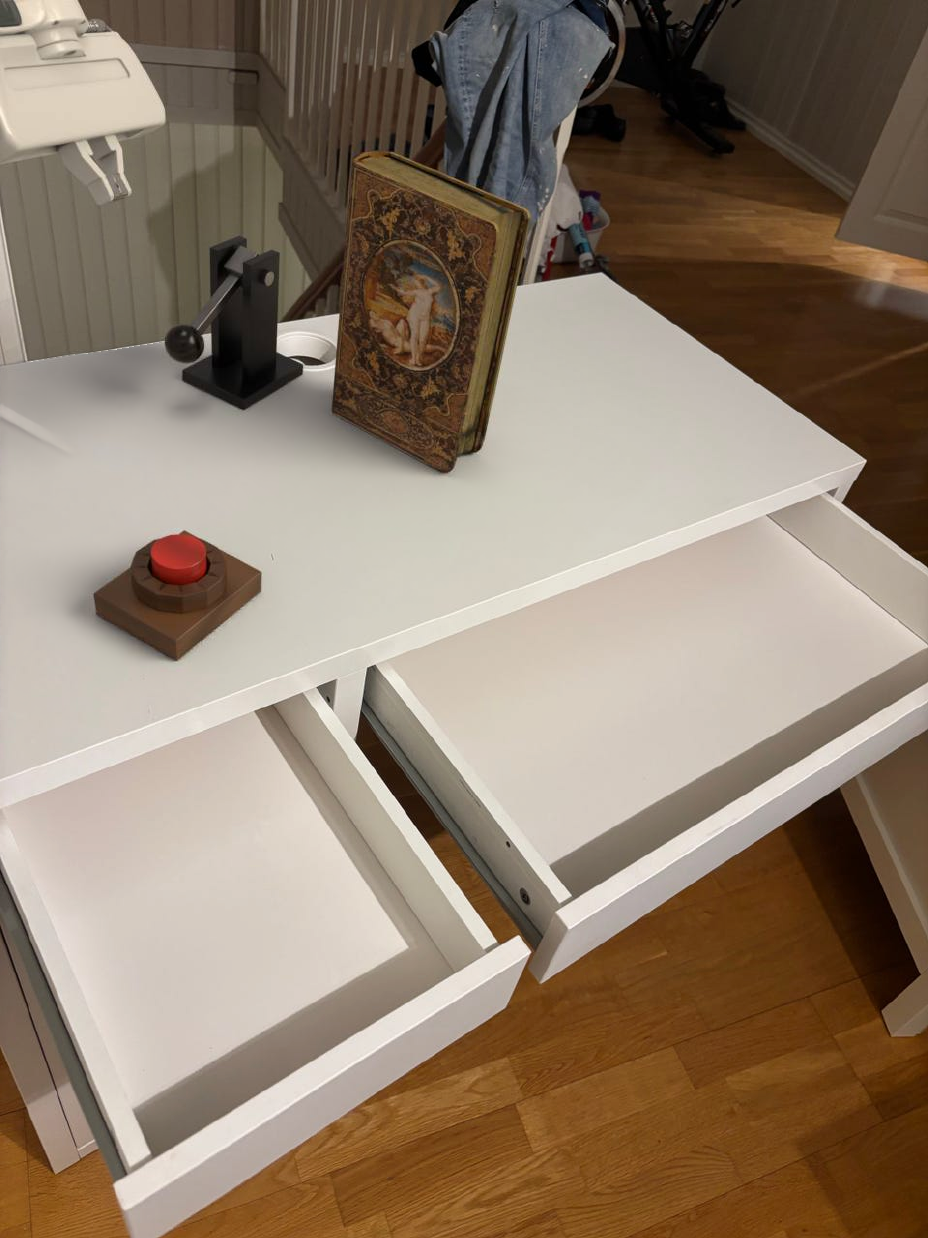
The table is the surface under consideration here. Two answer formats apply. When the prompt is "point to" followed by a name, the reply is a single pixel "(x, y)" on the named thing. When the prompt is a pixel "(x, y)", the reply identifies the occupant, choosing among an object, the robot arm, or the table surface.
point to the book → (424, 306)
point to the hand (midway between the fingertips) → (115, 200)
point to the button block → (177, 600)
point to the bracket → (244, 333)
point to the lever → (206, 312)
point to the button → (178, 559)
